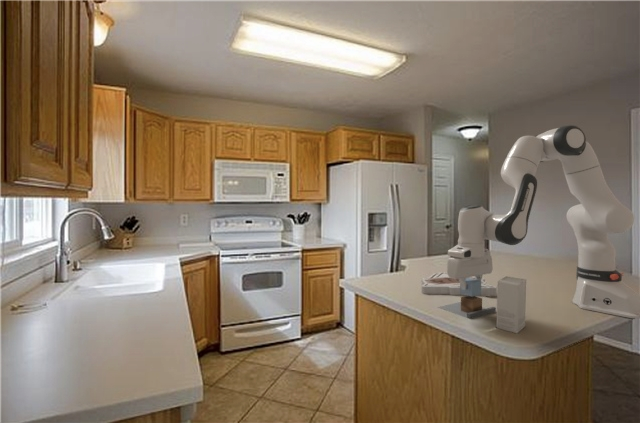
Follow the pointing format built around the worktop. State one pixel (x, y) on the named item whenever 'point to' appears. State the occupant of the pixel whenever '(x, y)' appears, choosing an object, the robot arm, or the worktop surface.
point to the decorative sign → (451, 285)
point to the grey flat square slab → (457, 310)
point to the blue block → (472, 287)
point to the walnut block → (471, 304)
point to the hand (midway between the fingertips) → (470, 288)
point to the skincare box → (511, 304)
